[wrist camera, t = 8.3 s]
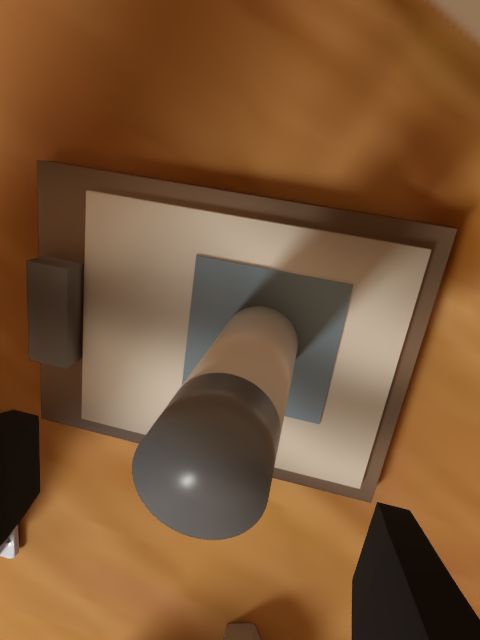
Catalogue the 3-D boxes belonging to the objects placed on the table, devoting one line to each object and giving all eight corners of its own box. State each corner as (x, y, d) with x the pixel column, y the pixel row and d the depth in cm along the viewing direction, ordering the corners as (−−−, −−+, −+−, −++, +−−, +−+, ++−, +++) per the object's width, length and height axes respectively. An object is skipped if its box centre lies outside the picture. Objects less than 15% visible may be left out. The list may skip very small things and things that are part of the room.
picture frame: (369, 490, 19) (373, 523, 18) (51, 410, 22) (25, 431, 20) (451, 226, 15) (467, 233, 14) (49, 161, 18) (16, 158, 16)
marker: (290, 383, 17) (256, 555, 9) (219, 367, 18) (128, 518, 10) (304, 314, 16) (280, 440, 8) (228, 299, 17) (136, 405, 9)
